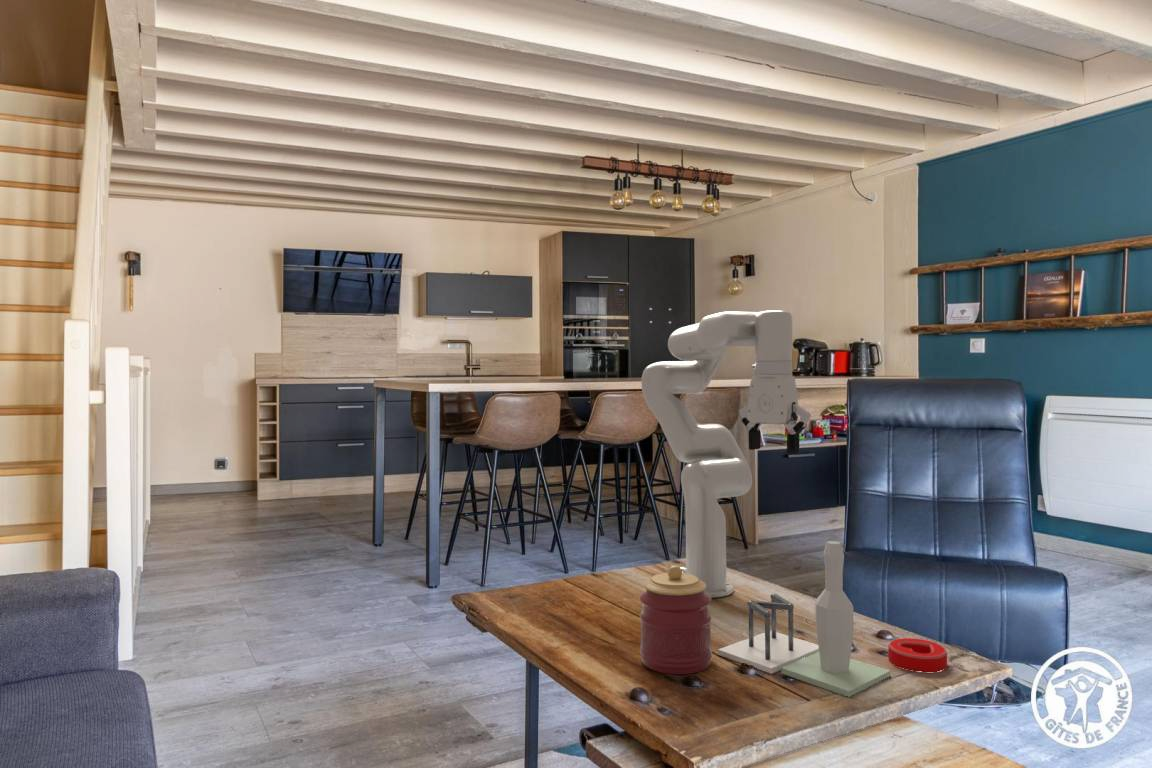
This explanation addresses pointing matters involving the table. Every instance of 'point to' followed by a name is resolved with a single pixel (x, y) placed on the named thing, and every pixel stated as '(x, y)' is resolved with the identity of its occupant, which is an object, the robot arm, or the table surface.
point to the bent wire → (761, 608)
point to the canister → (675, 623)
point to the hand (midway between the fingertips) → (773, 451)
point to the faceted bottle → (834, 614)
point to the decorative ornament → (917, 655)
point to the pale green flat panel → (836, 675)
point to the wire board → (777, 652)
